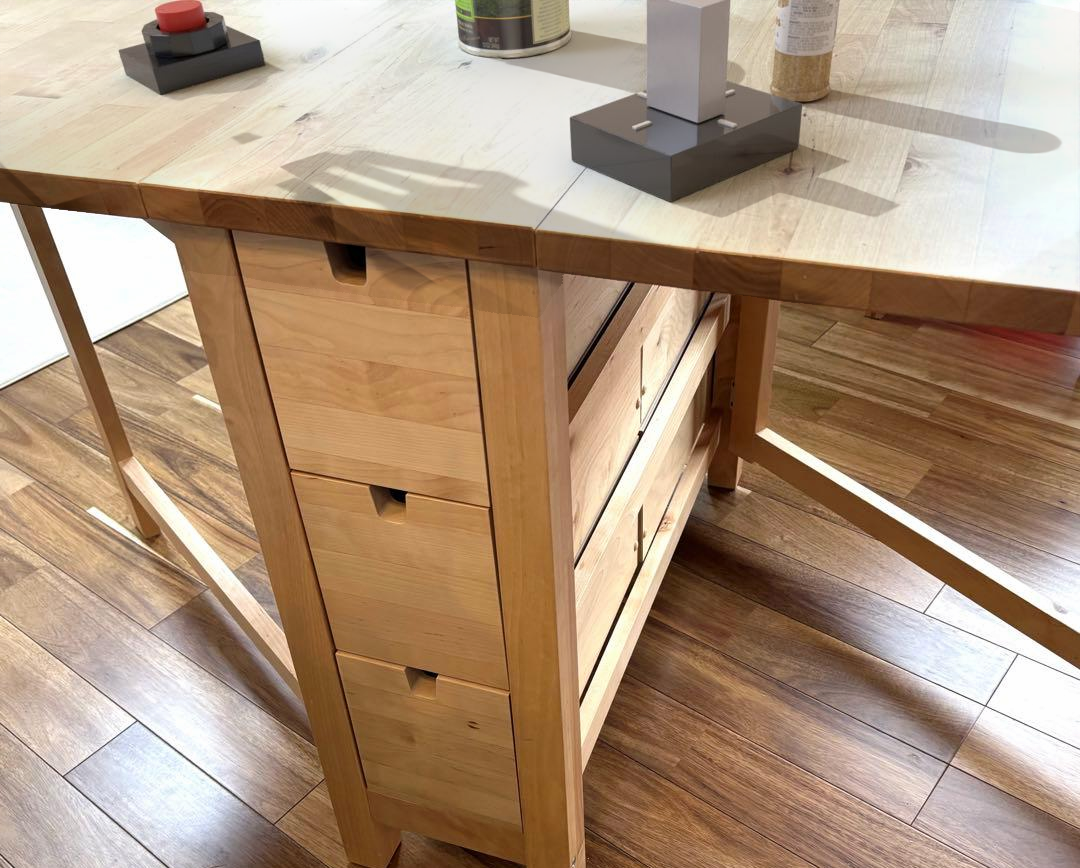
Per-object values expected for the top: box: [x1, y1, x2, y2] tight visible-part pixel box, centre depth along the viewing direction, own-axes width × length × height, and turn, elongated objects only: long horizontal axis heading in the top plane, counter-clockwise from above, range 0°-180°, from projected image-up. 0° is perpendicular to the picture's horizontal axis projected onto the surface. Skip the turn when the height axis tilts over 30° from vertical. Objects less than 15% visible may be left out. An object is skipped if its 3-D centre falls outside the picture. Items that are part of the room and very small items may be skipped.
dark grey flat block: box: [569, 80, 803, 203], centre depth 71 cm, size 12×10×3 cm
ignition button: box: [154, 0, 207, 32], centre depth 91 cm, size 4×4×2 cm
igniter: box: [117, 11, 266, 96], centre depth 93 cm, size 10×8×4 cm
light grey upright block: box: [646, 0, 731, 123], centre depth 68 cm, size 5×2×7 cm, turn 38°
